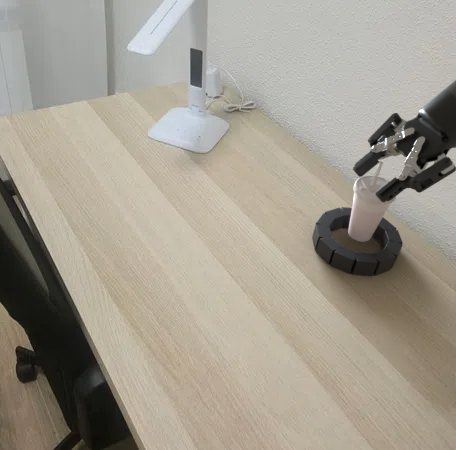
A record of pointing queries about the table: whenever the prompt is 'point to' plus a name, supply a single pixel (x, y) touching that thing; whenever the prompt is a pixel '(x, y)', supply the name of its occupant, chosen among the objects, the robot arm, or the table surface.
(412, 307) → the table surface
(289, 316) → the table surface
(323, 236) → the tire
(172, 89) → the table surface
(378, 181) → the smoothie
